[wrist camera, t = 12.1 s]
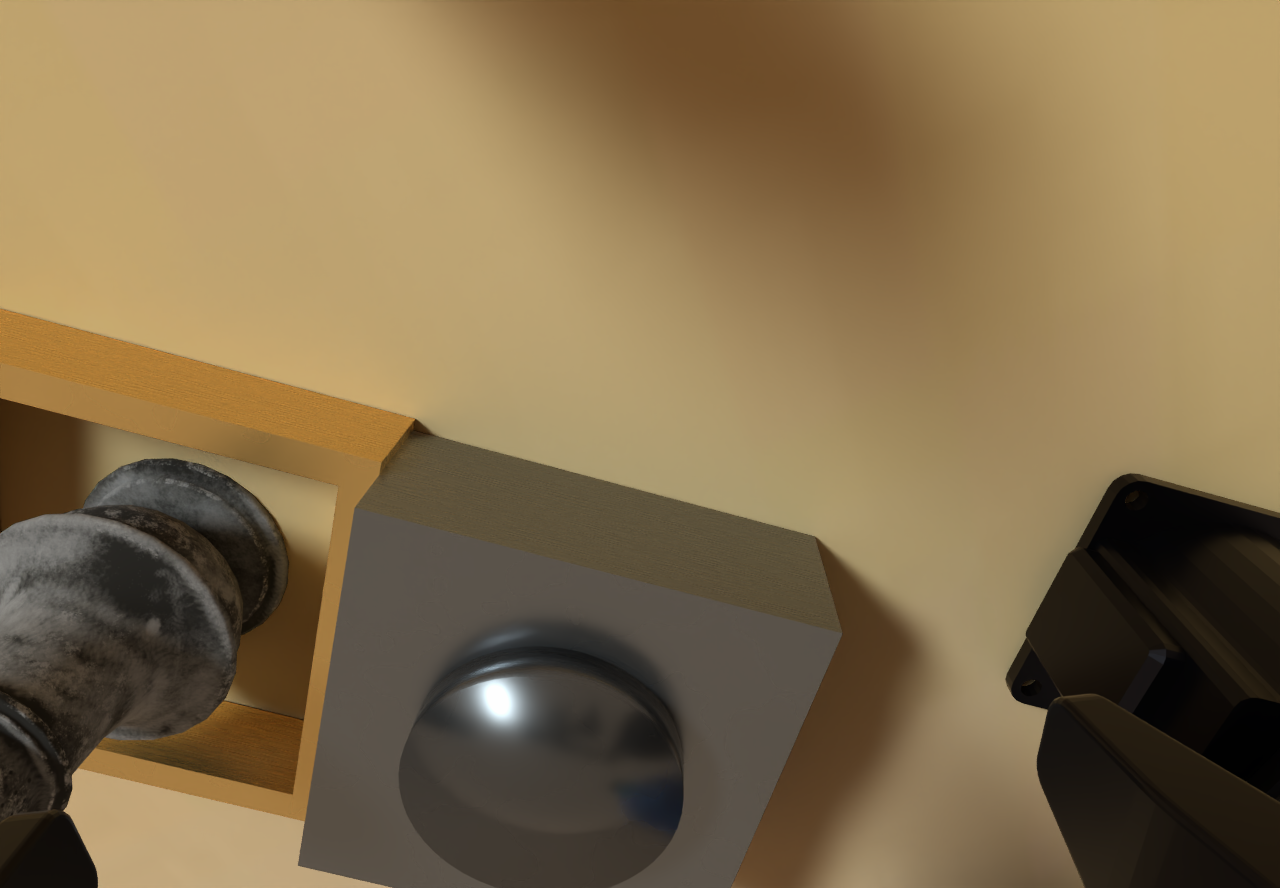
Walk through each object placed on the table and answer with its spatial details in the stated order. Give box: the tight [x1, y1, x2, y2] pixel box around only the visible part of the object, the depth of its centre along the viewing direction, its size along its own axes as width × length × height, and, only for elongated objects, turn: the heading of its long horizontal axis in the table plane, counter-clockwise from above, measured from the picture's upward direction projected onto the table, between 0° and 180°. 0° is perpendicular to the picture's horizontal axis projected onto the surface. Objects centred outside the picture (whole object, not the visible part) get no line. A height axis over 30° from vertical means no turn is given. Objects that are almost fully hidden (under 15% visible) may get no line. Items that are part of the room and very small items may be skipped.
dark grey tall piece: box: [0, 459, 289, 822], centre depth 17 cm, size 6×6×12 cm
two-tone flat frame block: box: [0, 309, 843, 888], centre depth 20 cm, size 21×11×5 cm, turn 75°
